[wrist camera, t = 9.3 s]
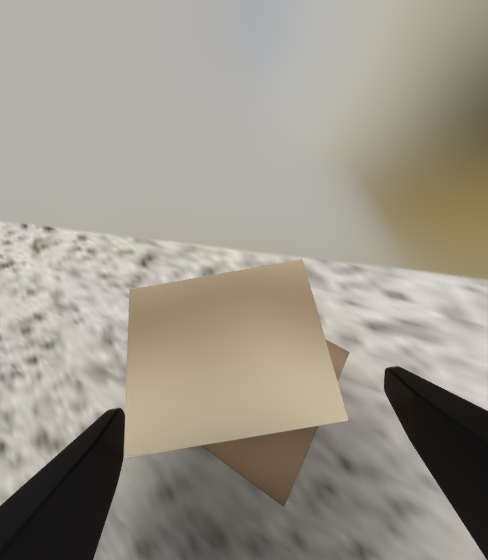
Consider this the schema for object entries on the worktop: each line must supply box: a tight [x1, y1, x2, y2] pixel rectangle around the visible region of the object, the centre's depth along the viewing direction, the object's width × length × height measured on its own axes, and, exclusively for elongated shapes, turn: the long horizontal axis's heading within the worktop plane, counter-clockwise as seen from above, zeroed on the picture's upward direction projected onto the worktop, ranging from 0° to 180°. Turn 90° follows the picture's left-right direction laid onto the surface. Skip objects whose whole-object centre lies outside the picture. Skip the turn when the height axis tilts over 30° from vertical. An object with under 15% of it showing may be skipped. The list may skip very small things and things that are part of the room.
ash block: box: [124, 259, 349, 458], centre depth 13 cm, size 4×6×12 cm
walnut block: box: [201, 340, 350, 506], centre depth 20 cm, size 10×10×4 cm
